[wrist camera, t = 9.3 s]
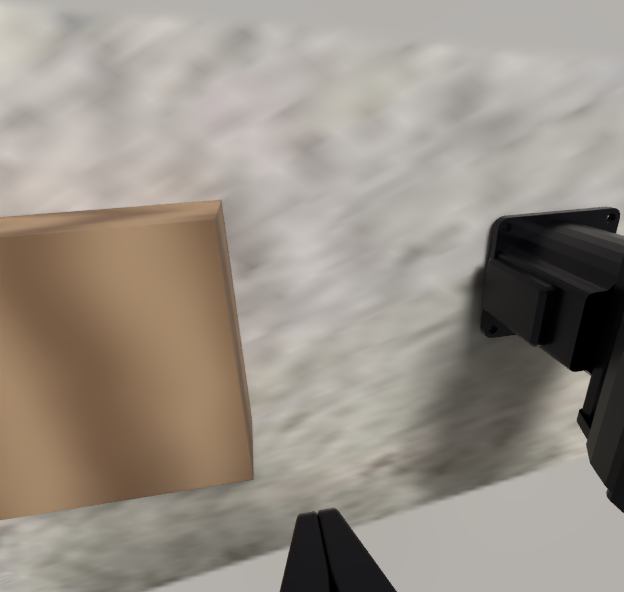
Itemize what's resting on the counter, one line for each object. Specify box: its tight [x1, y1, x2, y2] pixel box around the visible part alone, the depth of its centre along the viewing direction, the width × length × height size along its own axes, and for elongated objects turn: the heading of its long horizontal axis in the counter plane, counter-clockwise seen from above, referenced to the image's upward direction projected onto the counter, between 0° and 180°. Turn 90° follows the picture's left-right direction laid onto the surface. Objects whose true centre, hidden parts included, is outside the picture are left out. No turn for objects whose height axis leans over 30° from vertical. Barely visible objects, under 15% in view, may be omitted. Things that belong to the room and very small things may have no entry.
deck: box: [0, 200, 253, 520], centre depth 17 cm, size 11×12×4 cm
